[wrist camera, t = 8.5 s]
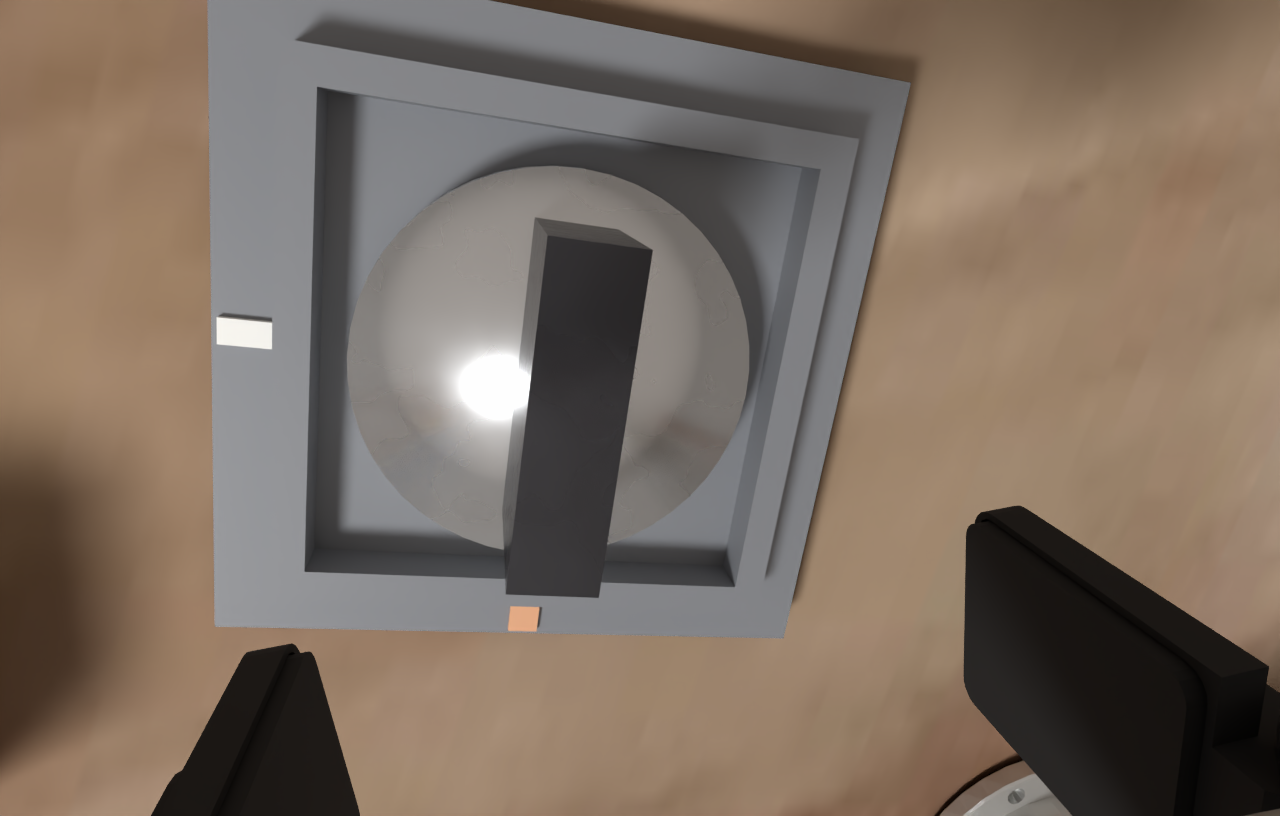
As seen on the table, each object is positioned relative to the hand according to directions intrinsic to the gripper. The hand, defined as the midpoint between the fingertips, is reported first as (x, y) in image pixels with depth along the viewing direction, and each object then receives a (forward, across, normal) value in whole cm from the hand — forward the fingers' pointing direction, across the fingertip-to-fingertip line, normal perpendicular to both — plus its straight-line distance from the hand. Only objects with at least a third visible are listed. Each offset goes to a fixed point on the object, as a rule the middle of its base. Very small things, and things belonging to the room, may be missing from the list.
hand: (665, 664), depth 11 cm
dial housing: (+17, 0, -1) cm, 17 cm away
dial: (+15, 0, -1) cm, 15 cm away
